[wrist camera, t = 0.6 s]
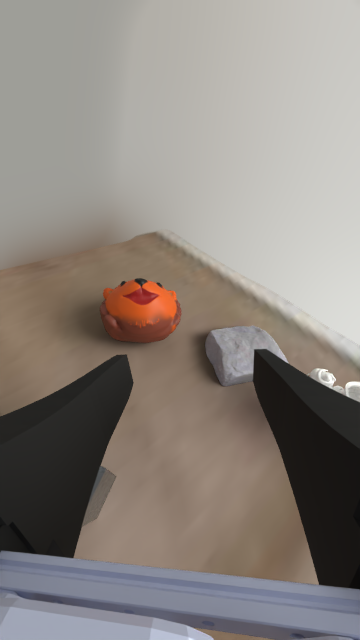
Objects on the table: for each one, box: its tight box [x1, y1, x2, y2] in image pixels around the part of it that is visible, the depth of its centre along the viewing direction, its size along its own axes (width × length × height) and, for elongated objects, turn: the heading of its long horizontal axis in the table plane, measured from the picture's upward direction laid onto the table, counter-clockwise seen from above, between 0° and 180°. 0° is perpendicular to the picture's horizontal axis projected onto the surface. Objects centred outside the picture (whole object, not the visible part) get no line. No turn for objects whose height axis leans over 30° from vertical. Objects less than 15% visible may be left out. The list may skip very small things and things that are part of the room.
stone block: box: [205, 326, 288, 386], centre depth 32 cm, size 12×5×10 cm
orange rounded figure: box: [100, 278, 181, 343], centre depth 29 cm, size 12×10×11 cm
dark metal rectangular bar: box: [82, 466, 116, 526], centre depth 16 cm, size 3×3×8 cm
